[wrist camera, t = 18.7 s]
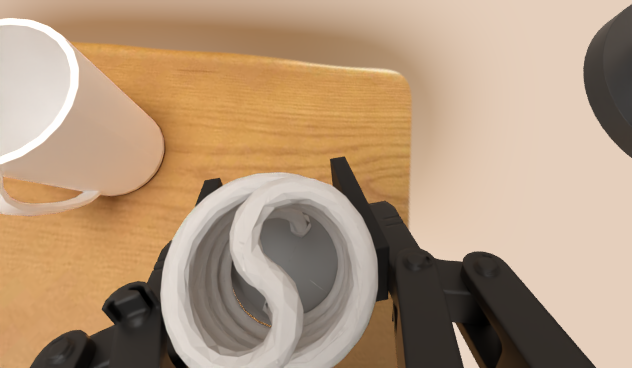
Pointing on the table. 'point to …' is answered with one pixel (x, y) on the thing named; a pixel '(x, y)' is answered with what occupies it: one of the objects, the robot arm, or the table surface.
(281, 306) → the light bulb
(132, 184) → the mug
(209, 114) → the table surface
